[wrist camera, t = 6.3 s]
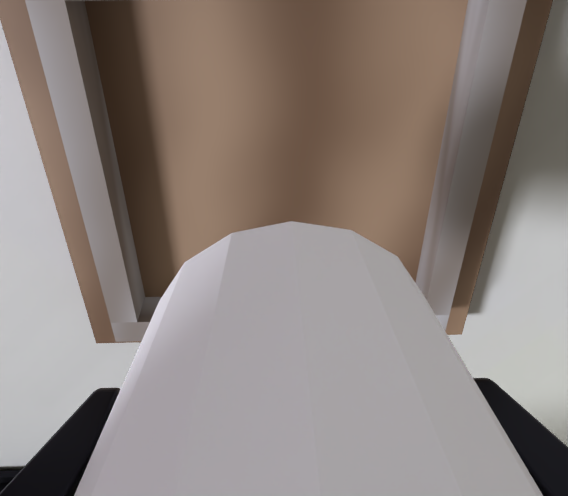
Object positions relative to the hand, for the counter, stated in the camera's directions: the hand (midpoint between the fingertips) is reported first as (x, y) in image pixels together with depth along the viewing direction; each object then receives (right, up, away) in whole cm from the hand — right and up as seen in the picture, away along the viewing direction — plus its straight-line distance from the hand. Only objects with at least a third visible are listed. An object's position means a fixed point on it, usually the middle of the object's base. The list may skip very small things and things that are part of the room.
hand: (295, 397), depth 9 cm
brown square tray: (0, +6, +9) cm, 11 cm away
